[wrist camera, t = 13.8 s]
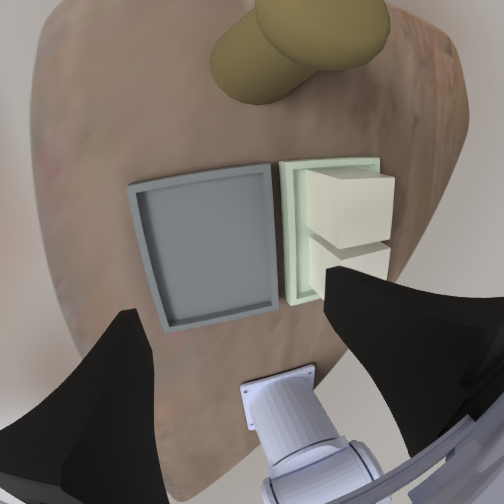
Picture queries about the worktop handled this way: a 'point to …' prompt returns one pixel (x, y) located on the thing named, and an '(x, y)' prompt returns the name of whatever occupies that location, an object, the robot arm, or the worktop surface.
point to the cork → (296, 45)
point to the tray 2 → (305, 218)
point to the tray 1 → (208, 244)
